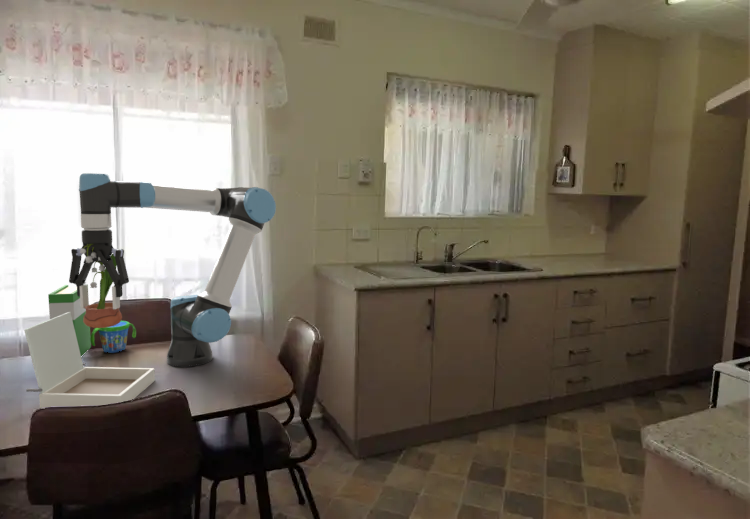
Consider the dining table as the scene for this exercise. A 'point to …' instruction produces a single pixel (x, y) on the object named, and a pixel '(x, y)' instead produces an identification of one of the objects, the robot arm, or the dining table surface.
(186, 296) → the robot arm
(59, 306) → the hardback book
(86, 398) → the white open hinged box
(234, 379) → the dining table surface
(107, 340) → the snack cup
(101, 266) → the potted flower
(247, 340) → the dining table surface
